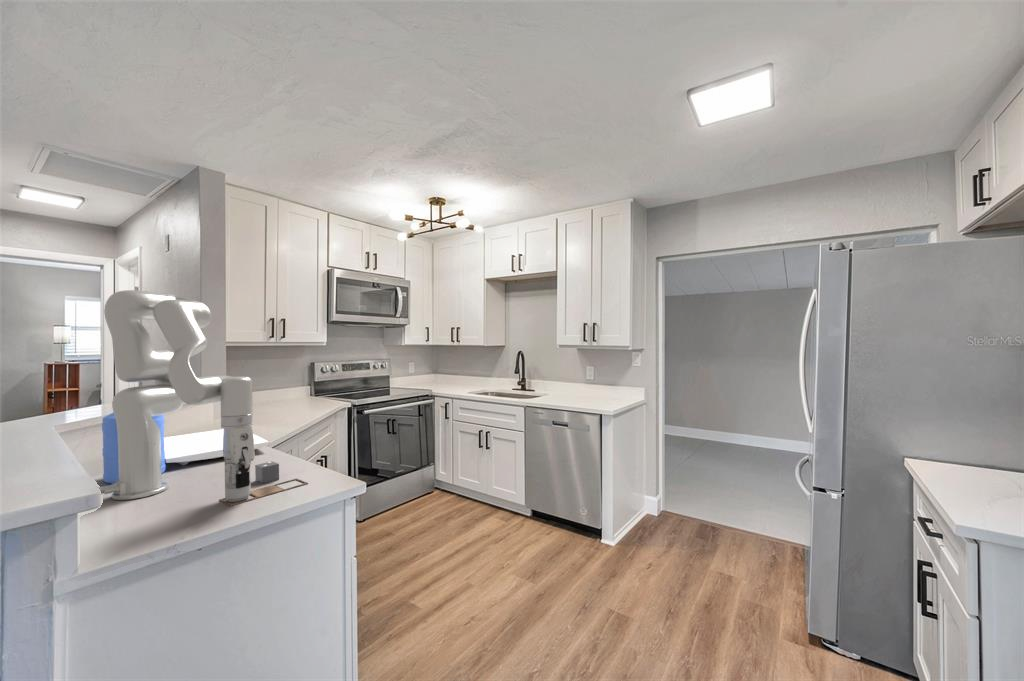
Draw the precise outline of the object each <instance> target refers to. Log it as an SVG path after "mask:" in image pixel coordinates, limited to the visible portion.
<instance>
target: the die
mask: <svg viewBox="0 0 1024 681" xmlns="http://www.w3.org/2000/svg"><path fill="white" fill-rule="evenodd" d="M254 466H255V467H254V468H255V471H254V475H255V482H258V483H260V484H267V483H270V482H271V483H272V482H274V481H279V480H280V464H279V463H278V462H275V461H267V462H264V463H258V464H255V465H254Z"/></svg>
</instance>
